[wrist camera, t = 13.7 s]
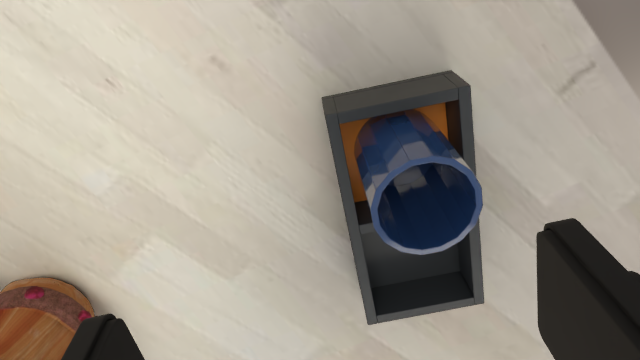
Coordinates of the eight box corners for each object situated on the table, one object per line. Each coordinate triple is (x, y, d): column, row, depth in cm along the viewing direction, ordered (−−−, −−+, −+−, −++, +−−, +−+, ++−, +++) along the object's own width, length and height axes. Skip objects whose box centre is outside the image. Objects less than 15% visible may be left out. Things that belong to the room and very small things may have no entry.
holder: (451, 69, 34) (470, 85, 31) (467, 272, 42) (484, 303, 39) (321, 97, 35) (324, 115, 31) (361, 292, 43) (367, 325, 39)
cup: (435, 98, 34) (479, 146, 26) (443, 178, 37) (485, 243, 29) (347, 117, 35) (363, 169, 27) (361, 194, 37) (380, 263, 29)
